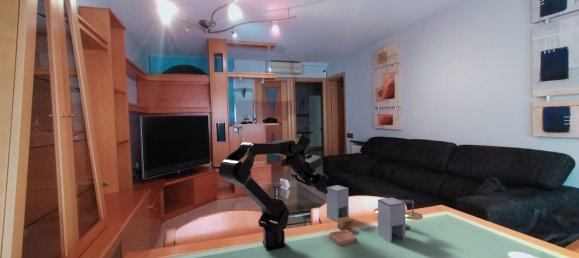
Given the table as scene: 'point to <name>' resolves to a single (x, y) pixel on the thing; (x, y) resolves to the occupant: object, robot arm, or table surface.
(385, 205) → the gray arched-opening tower
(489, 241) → the table surface
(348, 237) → the dish
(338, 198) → the tall vending chute
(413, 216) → the balance
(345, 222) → the block
